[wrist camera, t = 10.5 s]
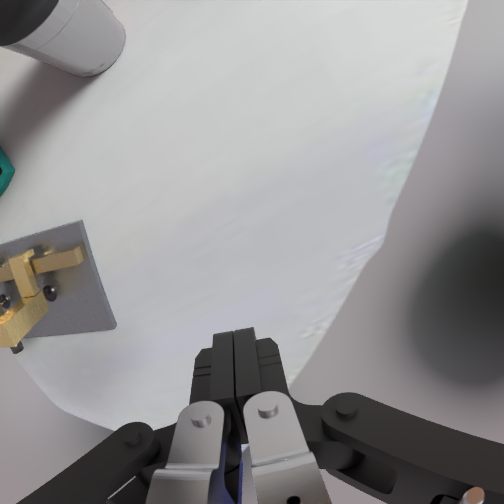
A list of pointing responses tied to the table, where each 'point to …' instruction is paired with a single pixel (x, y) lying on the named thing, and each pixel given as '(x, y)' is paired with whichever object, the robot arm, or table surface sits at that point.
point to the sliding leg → (22, 304)
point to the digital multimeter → (5, 172)
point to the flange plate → (62, 284)
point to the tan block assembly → (46, 264)
